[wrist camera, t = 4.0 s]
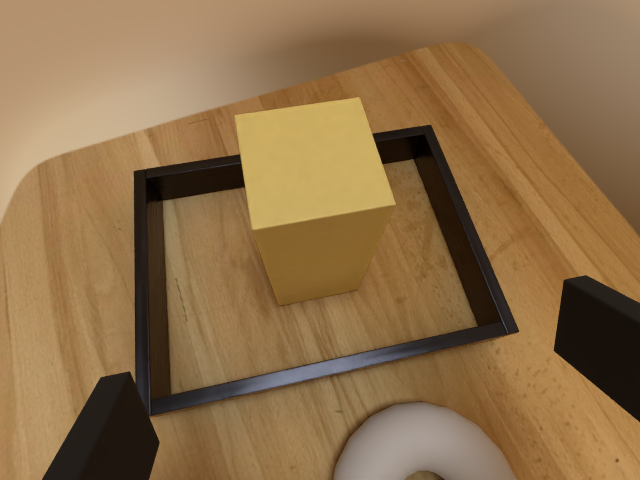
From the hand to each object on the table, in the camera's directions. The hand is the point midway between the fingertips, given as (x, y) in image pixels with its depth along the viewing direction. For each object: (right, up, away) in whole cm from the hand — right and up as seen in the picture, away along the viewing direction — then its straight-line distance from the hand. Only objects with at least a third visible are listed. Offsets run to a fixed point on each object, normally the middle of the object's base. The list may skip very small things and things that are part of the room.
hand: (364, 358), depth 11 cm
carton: (-2, +2, +14) cm, 15 cm away
